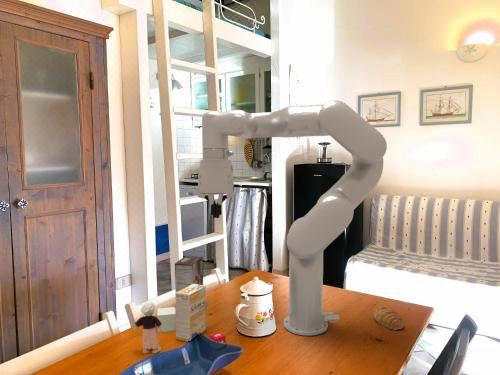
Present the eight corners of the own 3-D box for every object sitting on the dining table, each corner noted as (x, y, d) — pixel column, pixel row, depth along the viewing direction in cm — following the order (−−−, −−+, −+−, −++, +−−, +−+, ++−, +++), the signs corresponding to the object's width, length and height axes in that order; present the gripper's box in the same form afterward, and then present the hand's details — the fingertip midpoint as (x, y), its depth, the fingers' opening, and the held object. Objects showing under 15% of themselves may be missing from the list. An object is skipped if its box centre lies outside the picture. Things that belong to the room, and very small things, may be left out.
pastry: (410, 330, 106) (410, 317, 106) (389, 333, 104) (389, 319, 104) (390, 316, 115) (390, 304, 115) (370, 318, 113) (370, 306, 113)
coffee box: (186, 301, 127) (185, 255, 125) (204, 303, 125) (203, 256, 124) (175, 313, 118) (174, 263, 116) (194, 314, 116) (193, 264, 115)
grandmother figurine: (165, 345, 98) (164, 298, 96) (164, 353, 94) (163, 304, 93) (135, 347, 96) (133, 300, 95) (132, 355, 93) (130, 306, 92)
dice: (216, 350, 95) (215, 339, 95) (209, 345, 98) (209, 334, 97) (225, 346, 97) (225, 335, 97) (219, 342, 99) (219, 331, 99)
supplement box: (190, 343, 99) (189, 295, 98) (175, 339, 101) (174, 292, 100) (207, 330, 106) (206, 285, 105) (192, 326, 108) (192, 282, 107)
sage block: (175, 323, 111) (175, 306, 110) (175, 330, 106) (175, 313, 106) (158, 324, 110) (157, 308, 109) (157, 332, 105) (157, 315, 104)
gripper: (241, 155, 112) (242, 215, 114) (192, 155, 113) (193, 215, 115) (240, 155, 105) (240, 219, 107) (187, 155, 106) (188, 219, 107)
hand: (216, 217), depth 111 cm, fingers closed
